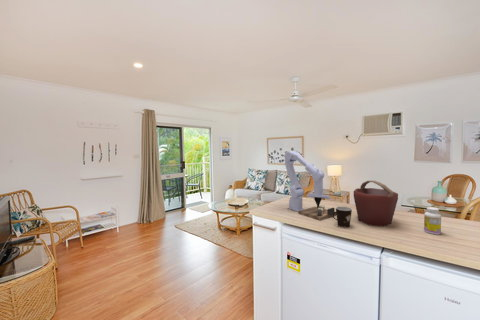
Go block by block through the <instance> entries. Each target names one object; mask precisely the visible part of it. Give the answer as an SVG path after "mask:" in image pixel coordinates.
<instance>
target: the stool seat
mask: <svg viewBox="0 0 480 320" xmlns="http://www.w3.org/2000/svg"><path fill="white" fill-rule="evenodd" d="M297 212H298V213H297V214H299V215H301V216H303V217H304V216H305V217H308V218H310V219H314V220H318V221H320V222H321V221H323V220H326V219H330V218H333V213H334V212H336V207H329V208H327V209H326V208H325V210H324V212H323V214H322V215H321V209H317V206H312V207H307V208H303V210H300V211H297ZM334 217H337V215H336V213H335V214H334Z"/></svg>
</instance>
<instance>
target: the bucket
mask: <svg viewBox="0 0 480 320" xmlns="http://www.w3.org/2000/svg"><path fill="white" fill-rule="evenodd" d="M369 183H374V184H375V185H378V186H380V187H381V188H382V189H381V188H374V187H373V188H372V187H370V188H369V187H367V188H366V186H367V185H368V184H369ZM353 200H354V205H355V210H356V214H357V218H358V222H361V223H363V224H366V225H368V226H375V227H387V226H390V225H392V223H393V220H394V215H395V212H396V208H397V203H398V200H399V193H397V192H396V191H393V190H392V189H390V188H389V187H388V186H387V185H385V184H384V183H382V182H380V181H376V180H366V181H363V182H362V183H361V185H360V187H358V188H355V189H354V190H353Z"/></svg>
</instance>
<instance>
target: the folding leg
mask: <svg viewBox="0 0 480 320" xmlns="http://www.w3.org/2000/svg"><path fill="white" fill-rule="evenodd" d="M318 209H321V215H322V214H323V212H324V210H325V209H326V208H325V205H322V204H320V205H319V208H318Z"/></svg>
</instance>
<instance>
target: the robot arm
mask: <svg viewBox="0 0 480 320" xmlns="http://www.w3.org/2000/svg"><path fill="white" fill-rule="evenodd" d="M283 156H284V157H283V158H284V165H285V169H286V171H287V175H288V178H289V181H290V182H289V183H290V188H289V190H290V193H289V194H290V197H289V199H288V203H289V204H288V205H289V208H288V209H289V210H292V211H295V212H298V211H300V210H303V209H304V208H303V197H304V195H305V190H304V189H303V186H302V185H301V184H300V183H299V180H298V177H297V174H296V171H295V168H294V163H295V161H297V162H298V163H300V164H301V165H302V166H304V169H305V171H307V172H308V173H309V174H310V175H311V177H312V180H313V193H307V194H306V197H307V198H313V200H314V202H315V204H316V207H317V209H318V208H319V206H320V205H321V202H322V199H323V200H324V199H326V200H330V199H331V197H330V195H327V194H326V195H325V194H324V193H323V190H324V184H323V183H324V178H325V173H324V172H323V171H322V170H319V168H317V167H315V165H314V164H313V163H309V162H308V161H307V160H306V159H305V158H304V157H303V156H302V155H301V153H300V152H298V151H297V150H288V151H286V152H285V153H284V155H283Z"/></svg>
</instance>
